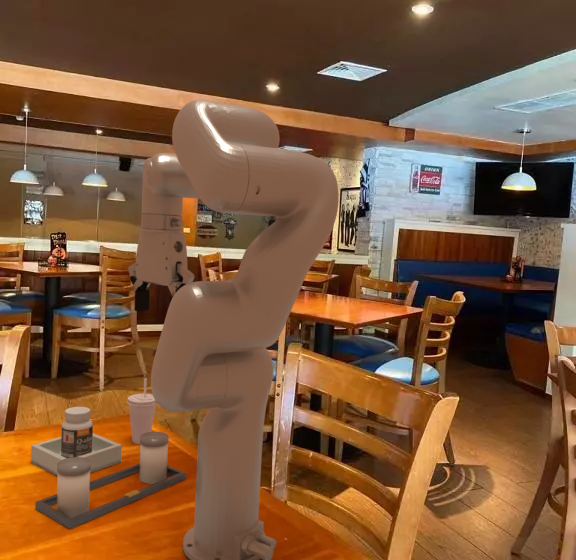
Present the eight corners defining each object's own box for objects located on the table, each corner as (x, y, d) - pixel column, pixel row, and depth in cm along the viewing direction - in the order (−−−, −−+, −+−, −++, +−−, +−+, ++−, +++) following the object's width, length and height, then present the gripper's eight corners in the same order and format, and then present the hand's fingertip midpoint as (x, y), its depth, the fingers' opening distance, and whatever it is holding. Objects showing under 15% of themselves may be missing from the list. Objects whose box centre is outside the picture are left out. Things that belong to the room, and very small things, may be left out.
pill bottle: (81, 467, 112) (82, 416, 111) (54, 462, 114) (55, 412, 113) (97, 456, 118) (98, 407, 117) (71, 452, 119) (72, 404, 118)
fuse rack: (186, 479, 111) (186, 472, 111) (70, 529, 91) (70, 520, 91) (151, 464, 117) (151, 457, 117) (35, 508, 97) (35, 500, 97)
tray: (121, 462, 117) (121, 445, 117) (67, 481, 107) (67, 462, 107) (84, 446, 124) (85, 429, 124) (31, 462, 114) (31, 445, 114)
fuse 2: (172, 477, 111) (174, 436, 111) (151, 486, 107) (153, 443, 107) (154, 469, 114) (155, 429, 114) (132, 478, 110) (134, 436, 110)
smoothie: (146, 448, 125) (148, 383, 123) (119, 443, 127) (121, 379, 125) (161, 438, 131) (163, 376, 129) (136, 433, 133) (138, 372, 131)
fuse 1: (96, 509, 98) (97, 463, 97) (68, 521, 94) (69, 472, 93) (77, 499, 101) (78, 454, 100) (49, 510, 97) (50, 463, 96)
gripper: (208, 227, 110) (204, 318, 111) (146, 223, 120) (144, 306, 121) (178, 226, 103) (175, 322, 105) (116, 221, 114) (113, 309, 115)
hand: (158, 313), depth 113 cm, fingers open, 9 cm apart
